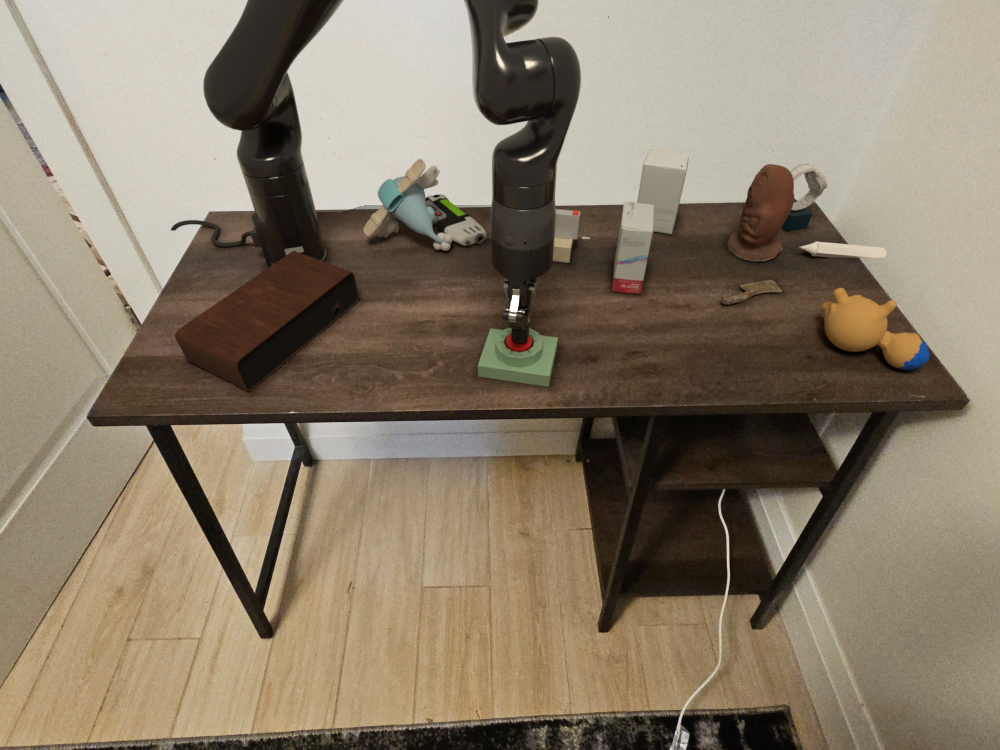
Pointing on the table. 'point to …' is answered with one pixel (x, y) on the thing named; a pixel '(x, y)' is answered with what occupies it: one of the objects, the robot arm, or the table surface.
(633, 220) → the ink box
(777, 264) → the table surface
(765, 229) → the figurine
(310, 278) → the alarm clock
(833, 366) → the table surface
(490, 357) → the button box
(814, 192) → the watch
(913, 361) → the toy
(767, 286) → the meat cleaver
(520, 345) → the stop button
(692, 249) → the table surface
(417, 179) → the toy figure
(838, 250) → the white pointed rod
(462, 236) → the toy gun
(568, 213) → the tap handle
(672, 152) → the white packaging box
